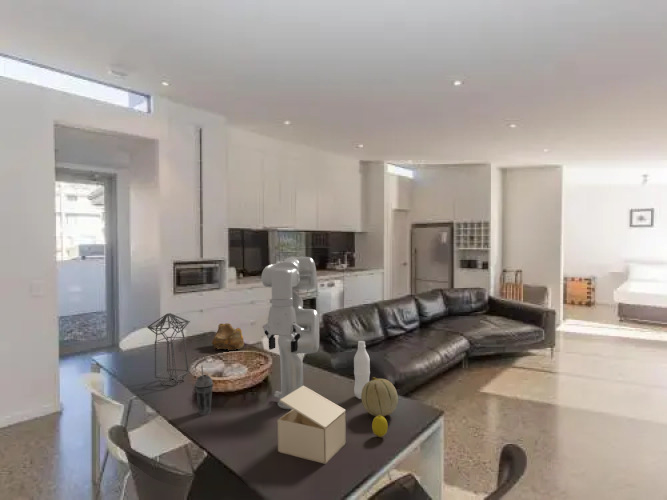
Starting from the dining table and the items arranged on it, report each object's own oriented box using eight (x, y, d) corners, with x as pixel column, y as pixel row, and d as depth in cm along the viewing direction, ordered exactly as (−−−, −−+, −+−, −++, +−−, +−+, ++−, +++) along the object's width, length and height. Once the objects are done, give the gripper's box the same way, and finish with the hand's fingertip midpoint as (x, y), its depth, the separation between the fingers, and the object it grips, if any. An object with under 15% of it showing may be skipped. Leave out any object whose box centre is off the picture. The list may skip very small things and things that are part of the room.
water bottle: (369, 400, 192) (368, 343, 191) (353, 399, 193) (352, 343, 192) (371, 394, 199) (370, 339, 198) (355, 393, 200) (354, 339, 199)
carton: (278, 452, 148) (277, 419, 147) (301, 433, 161) (300, 403, 161) (325, 463, 139) (324, 429, 139) (345, 443, 153) (345, 412, 152)
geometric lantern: (175, 389, 209) (171, 316, 208) (148, 387, 214) (144, 316, 213) (195, 378, 224) (191, 310, 223) (170, 376, 229) (166, 310, 228)
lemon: (371, 434, 160) (370, 412, 159) (386, 433, 160) (385, 411, 160) (373, 441, 154) (373, 418, 154) (389, 440, 155) (389, 418, 154)
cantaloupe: (393, 425, 167) (393, 386, 166) (356, 420, 172) (356, 382, 171) (401, 410, 181) (401, 374, 180) (367, 406, 186) (366, 370, 185)
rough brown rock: (205, 349, 287) (203, 326, 286) (227, 342, 299) (226, 320, 297) (223, 357, 271) (221, 333, 269) (246, 349, 282) (244, 326, 280)
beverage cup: (217, 410, 184) (216, 362, 183) (207, 417, 177) (205, 368, 176) (202, 408, 186) (201, 361, 185) (191, 415, 179) (190, 366, 178)
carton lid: (279, 401, 146) (280, 399, 146) (302, 386, 160) (303, 385, 160) (324, 428, 139) (325, 427, 139) (345, 411, 152) (345, 409, 152)
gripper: (256, 303, 161) (257, 350, 161) (296, 305, 152) (297, 355, 153) (269, 300, 167) (270, 345, 168) (307, 303, 159) (308, 350, 159)
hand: (283, 350), depth 160 cm, fingers open, 9 cm apart
